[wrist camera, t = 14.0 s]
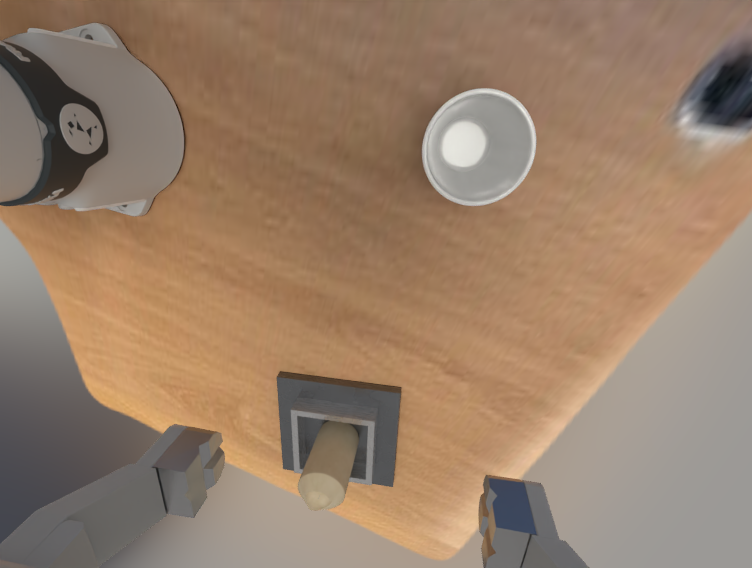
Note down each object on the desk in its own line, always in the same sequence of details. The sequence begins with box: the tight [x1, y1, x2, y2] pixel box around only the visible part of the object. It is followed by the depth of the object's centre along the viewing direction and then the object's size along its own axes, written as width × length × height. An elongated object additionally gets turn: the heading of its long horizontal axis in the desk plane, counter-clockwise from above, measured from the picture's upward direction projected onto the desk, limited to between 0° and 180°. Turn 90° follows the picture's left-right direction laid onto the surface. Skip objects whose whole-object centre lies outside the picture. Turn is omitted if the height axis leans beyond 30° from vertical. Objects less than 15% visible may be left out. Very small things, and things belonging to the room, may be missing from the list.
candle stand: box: [277, 372, 401, 487], centre depth 50 cm, size 16×16×4 cm
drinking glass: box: [422, 88, 536, 206], centre depth 29 cm, size 7×7×15 cm
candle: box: [298, 421, 359, 511], centre depth 46 cm, size 6×6×10 cm
